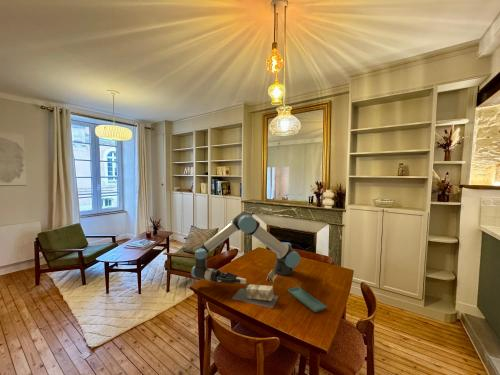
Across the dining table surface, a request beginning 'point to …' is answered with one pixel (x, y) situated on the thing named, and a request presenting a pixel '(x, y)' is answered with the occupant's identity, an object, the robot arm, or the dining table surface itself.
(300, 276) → the dining table surface
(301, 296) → the shallow long dish
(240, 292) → the rubber mat
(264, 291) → the birch block
